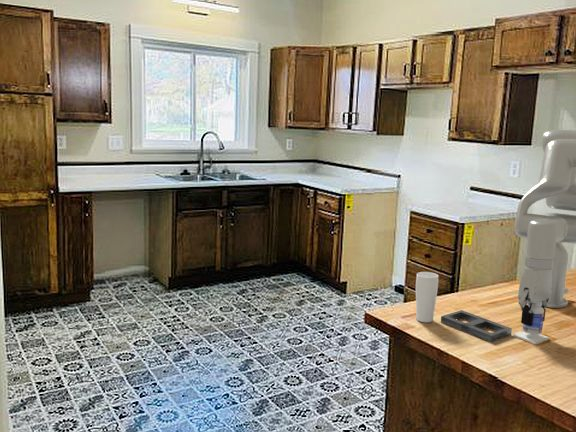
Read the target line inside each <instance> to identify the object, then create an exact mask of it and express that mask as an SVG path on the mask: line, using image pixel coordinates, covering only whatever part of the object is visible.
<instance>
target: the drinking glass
mask: <svg viewBox="0 0 576 432" xmlns="http://www.w3.org/2000/svg"><path fill="white" fill-rule="evenodd" d="M438 288H439V274H437V273H435V272H430V271H420V272H419V271H418V272H416V278H415V309H416V310H415V311H416V315H415V318H416V320H417V321H418V322H420V323H431V322H433V321H434V316H435V314H434V313H435V310H436V309H435V307H436V303H437V296H438Z"/></svg>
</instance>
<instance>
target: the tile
mask: <svg viewBox="0 0 576 432" xmlns="http://www.w3.org/2000/svg"><path fill="white" fill-rule="evenodd" d="M512 337H514V338H516V337H517V338H516V339H519V340H522V341H524V342H527V343H530V344H533V345H535V346H536V345H538V344H540V343H543V342H546V341H548V340H549V339H550V337H549V336H547V335H543V334H542V333H541V334H539V335H533V334H528V333H526V332H524V331H523V330H522V331H519V332H515V333H513V335H512Z"/></svg>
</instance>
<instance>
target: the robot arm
mask: <svg viewBox="0 0 576 432" xmlns="http://www.w3.org/2000/svg"><path fill="white" fill-rule="evenodd" d="M541 147H542V151H543V153H544V154H543V157H542V158H543V159H542V163H541V169H540V173H539V178H538V182H537V184H535V185H534V186H532V187H531V188H530V189H529V190H527V192H525V193H524V195H523V196H522V197H521V199H520V200H519V203H518V206H517V210H516V213H515V220H514V228H513V229H514V233H515V235H516V236H518V237H519V238H522V239H526V246H525V255H524V256H525V258H524V267H523V269H522V271H521V276H520V279H519V285H518V293H517V298H518V305H519V306H520V308H521V310H520V311H522V312H521V319H520V323H521V324H522V325H523V324H525V325H528V326H532V324H533V315H534V313H532V311H533V308H534V304H535V303H537V302H540V301H542V306H541V307H542V308H543V309H544V318H543V322H545V319H546V310H547V308H550V309H551V308H553V309H559V308H560V309H561V308H566V307H567V306H568V304H569V301H568V300H567V299H566V298H565V294H568V293H569V288H567V287H566V280H567V278H566V277H567V270H568V261H569V254H568V251H567V249H566V248H565V246H564V245H563V243H568V244H576V214H568V213H567V214H566V213H558V212H547V213H544V214H538V213H537V214H536V213H528V212H529V209H530V208H531V206H532V205H533V204H535V203H537V202H539V201H541V200H544V199H545V203H546V206H547V207H549V208H550V209H555V210H559V211H568V212H569V211H570V212H576V130H575V129H552V130H546V131H545V132H543V134H542V136H541ZM528 299H530V301H527V300H528ZM527 303H529V304H530V307H529V306H528V304H527Z"/></svg>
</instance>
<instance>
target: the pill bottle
mask: <svg viewBox="0 0 576 432" xmlns="http://www.w3.org/2000/svg"><path fill="white" fill-rule="evenodd" d="M527 301H530V299H528V300H527ZM527 305H528V306H529V307H530V304H529V303H527ZM541 306H542V301H540V302H537V303H535V304H534V308H533V311H532V313H534V315H533V324H532V326H528V325H525V324H522V326H521V327H522V329H521V330H522V331H524V332H526V333H528V334H533V335H539V334H541V335H542V333H543V327H544V321H543V318H544V309H543V308H542V307H541Z"/></svg>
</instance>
